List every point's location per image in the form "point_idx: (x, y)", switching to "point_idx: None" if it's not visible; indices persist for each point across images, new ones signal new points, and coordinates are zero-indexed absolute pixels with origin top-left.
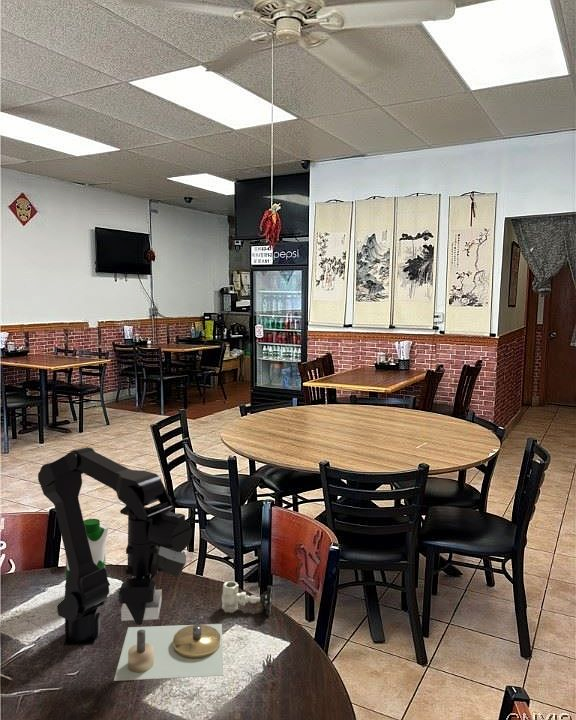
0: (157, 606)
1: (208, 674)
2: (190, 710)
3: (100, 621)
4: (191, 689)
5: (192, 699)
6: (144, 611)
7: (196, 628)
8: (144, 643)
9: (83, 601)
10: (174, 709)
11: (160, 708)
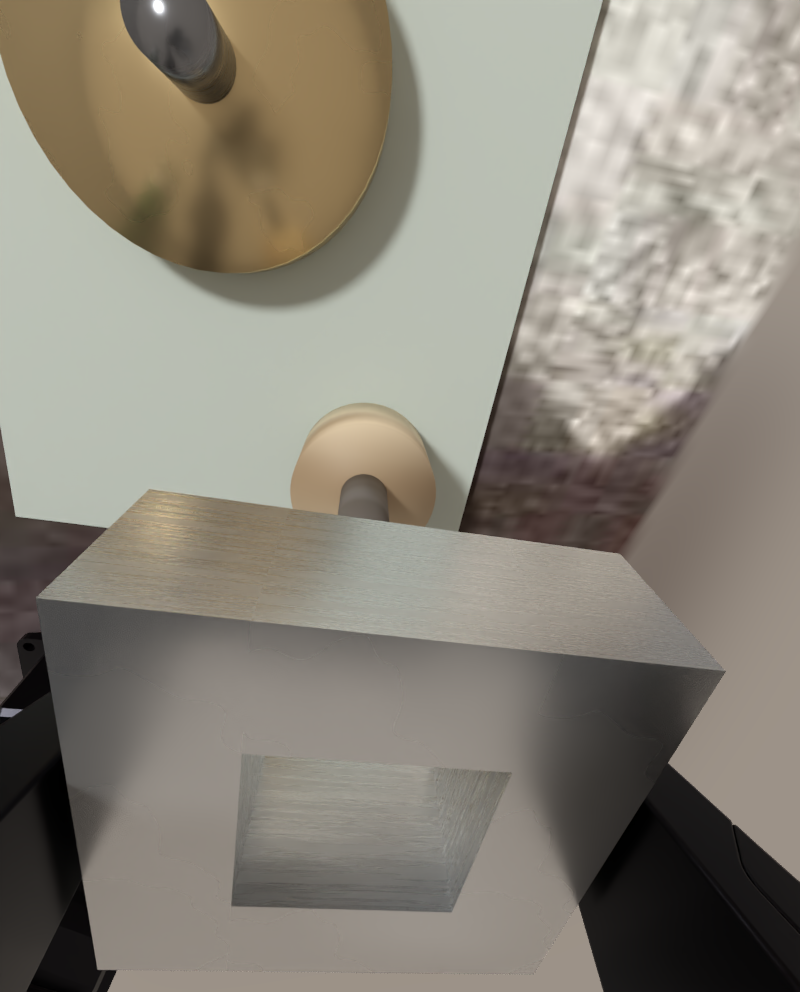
0: (690, 683)
1: (572, 60)
2: (774, 244)
3: (32, 671)
4: (631, 211)
5: (707, 219)
6: (723, 816)
7: (185, 27)
8: (378, 500)
9: (103, 971)
10: (724, 326)
11: (685, 390)
